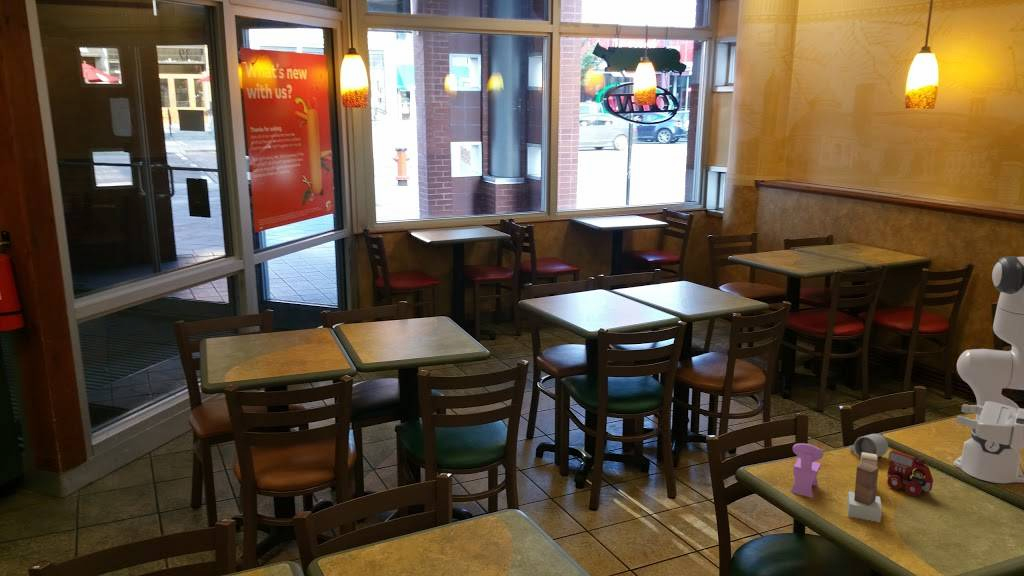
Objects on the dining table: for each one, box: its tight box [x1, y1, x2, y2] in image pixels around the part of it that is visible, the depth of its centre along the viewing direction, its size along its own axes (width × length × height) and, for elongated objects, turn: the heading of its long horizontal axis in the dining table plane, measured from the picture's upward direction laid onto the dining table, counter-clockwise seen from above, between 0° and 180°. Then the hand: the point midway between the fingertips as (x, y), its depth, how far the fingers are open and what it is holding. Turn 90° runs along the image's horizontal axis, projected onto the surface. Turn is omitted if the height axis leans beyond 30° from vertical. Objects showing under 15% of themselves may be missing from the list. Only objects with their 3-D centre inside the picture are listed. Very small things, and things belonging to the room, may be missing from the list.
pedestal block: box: [846, 490, 883, 523], centre depth 211 cm, size 8×8×4 cm
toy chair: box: [789, 442, 824, 499], centre depth 223 cm, size 8×9×15 cm
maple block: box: [859, 452, 879, 467], centre depth 225 cm, size 4×4×10 cm
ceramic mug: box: [849, 433, 889, 459], centre depth 247 cm, size 11×8×8 cm
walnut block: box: [854, 462, 879, 506], centre depth 210 cm, size 4×4×10 cm
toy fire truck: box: [886, 449, 934, 497], centre depth 225 cm, size 7×12×10 cm, turn 44°
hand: (959, 413), depth 199 cm, fingers open, 8 cm apart
